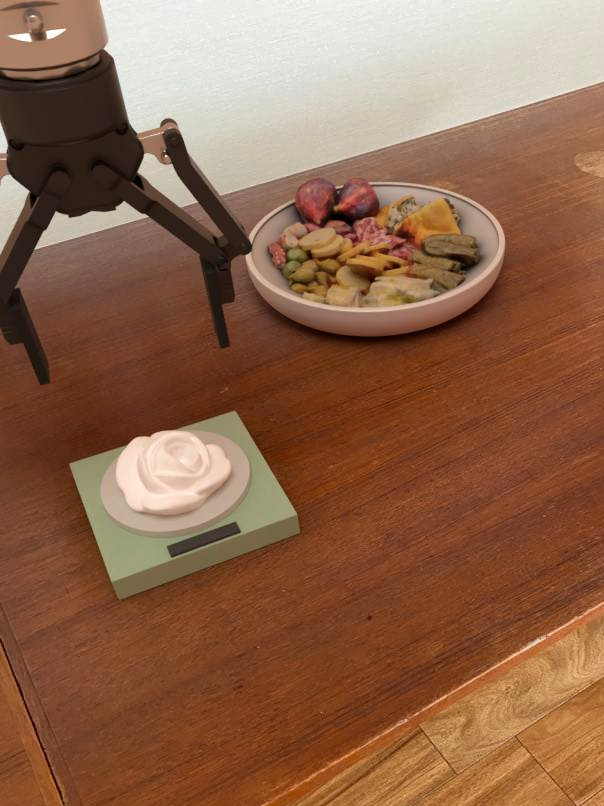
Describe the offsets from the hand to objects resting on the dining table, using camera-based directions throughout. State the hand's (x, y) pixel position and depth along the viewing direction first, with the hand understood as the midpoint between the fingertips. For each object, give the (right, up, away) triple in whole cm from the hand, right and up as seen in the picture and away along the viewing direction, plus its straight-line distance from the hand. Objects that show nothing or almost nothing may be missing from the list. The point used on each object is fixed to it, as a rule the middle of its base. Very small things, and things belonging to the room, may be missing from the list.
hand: (135, 356), depth 67 cm
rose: (+1, -9, +9) cm, 13 cm away
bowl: (+18, +17, +37) cm, 44 cm away
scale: (+1, -11, +11) cm, 16 cm away
